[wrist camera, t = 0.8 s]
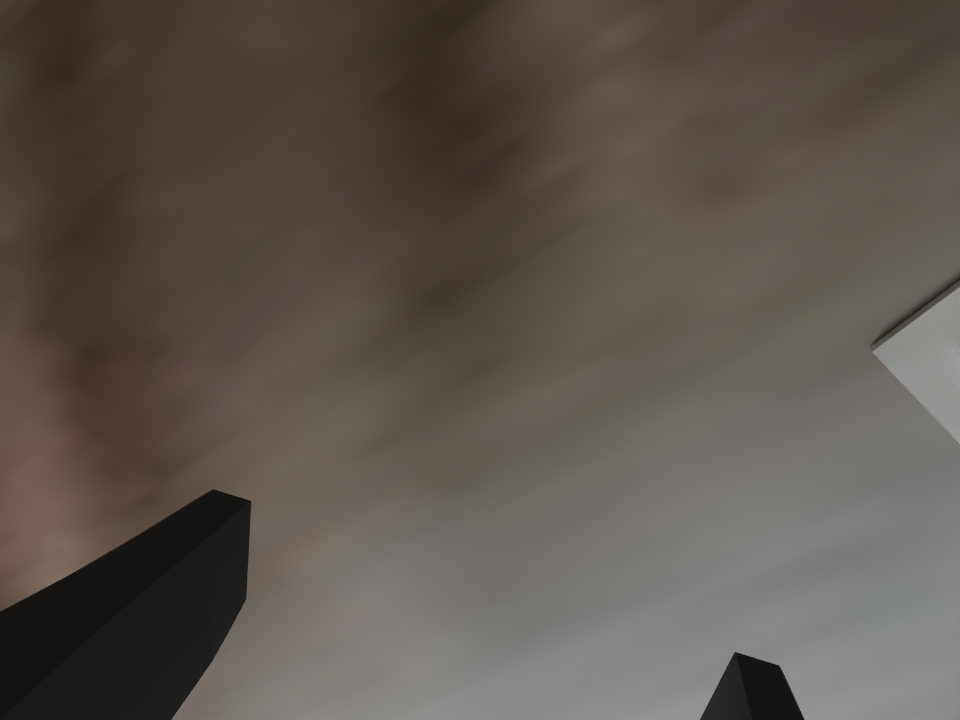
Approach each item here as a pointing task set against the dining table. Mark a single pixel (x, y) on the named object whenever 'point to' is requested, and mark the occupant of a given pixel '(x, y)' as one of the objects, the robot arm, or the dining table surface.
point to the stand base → (929, 357)
